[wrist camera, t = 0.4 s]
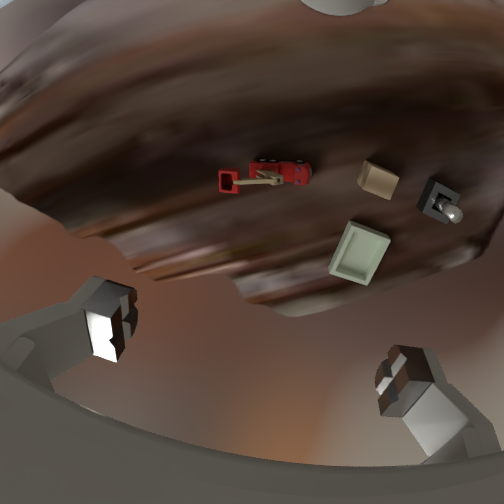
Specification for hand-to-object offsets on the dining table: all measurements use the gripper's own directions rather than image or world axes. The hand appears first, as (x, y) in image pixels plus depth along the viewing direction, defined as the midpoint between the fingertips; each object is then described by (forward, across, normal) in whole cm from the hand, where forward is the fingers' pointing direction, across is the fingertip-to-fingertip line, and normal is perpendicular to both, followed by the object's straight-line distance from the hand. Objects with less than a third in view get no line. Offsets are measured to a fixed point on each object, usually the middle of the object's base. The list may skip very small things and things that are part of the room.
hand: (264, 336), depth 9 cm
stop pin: (+45, -29, +2) cm, 53 cm away
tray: (+45, -17, +16) cm, 51 cm away
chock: (+45, -16, +2) cm, 48 cm away
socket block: (+45, -29, +2) cm, 53 cm away
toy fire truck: (+45, +2, +5) cm, 45 cm away
